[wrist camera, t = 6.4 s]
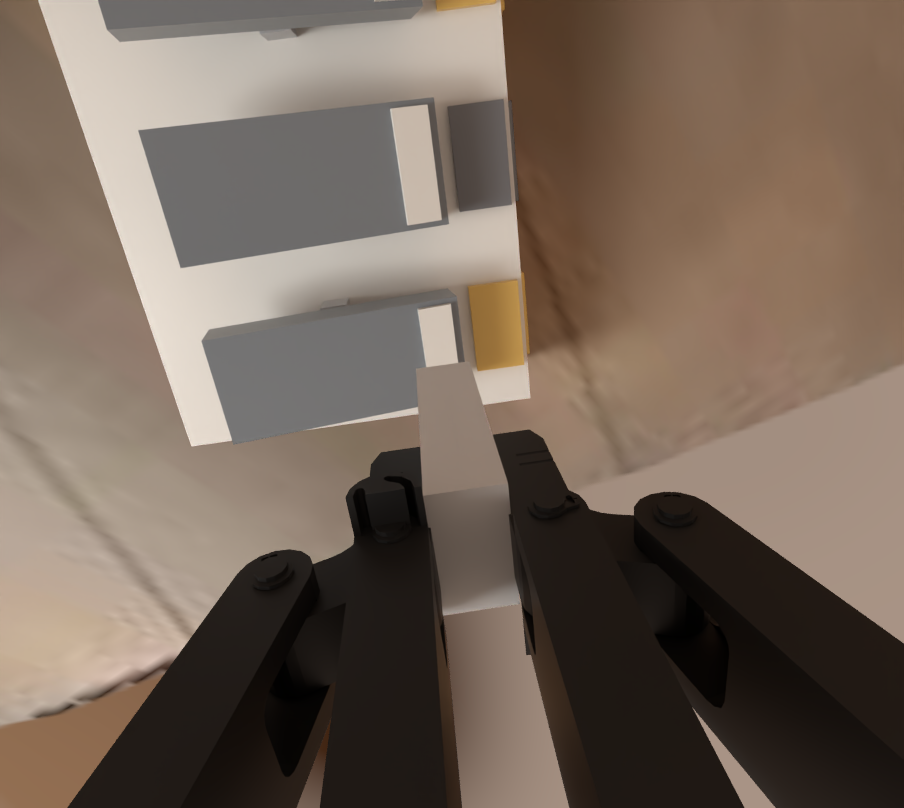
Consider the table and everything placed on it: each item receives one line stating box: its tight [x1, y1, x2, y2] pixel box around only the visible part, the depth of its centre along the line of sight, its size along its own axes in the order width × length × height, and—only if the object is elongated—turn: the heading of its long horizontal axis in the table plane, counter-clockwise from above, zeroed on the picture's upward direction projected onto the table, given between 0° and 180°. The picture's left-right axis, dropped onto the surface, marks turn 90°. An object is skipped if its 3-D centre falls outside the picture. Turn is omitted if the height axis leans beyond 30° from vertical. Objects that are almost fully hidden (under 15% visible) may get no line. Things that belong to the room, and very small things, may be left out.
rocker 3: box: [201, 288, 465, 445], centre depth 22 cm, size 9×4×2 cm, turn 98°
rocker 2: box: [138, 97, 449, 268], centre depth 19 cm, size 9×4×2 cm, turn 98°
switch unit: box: [38, 0, 530, 446], centre depth 23 cm, size 15×20×6 cm
